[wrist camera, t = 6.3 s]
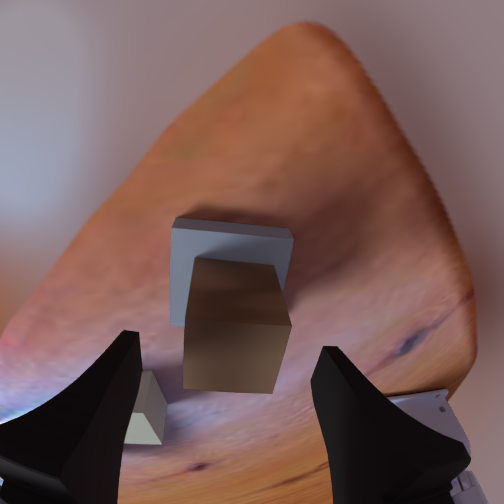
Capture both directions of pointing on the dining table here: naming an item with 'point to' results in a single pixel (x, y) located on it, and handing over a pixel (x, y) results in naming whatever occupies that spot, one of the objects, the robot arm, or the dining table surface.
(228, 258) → the slate slab
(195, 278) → the walnut block
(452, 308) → the dining table surface
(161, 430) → the sage block
